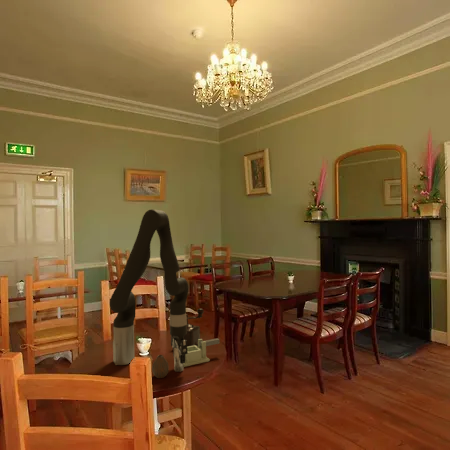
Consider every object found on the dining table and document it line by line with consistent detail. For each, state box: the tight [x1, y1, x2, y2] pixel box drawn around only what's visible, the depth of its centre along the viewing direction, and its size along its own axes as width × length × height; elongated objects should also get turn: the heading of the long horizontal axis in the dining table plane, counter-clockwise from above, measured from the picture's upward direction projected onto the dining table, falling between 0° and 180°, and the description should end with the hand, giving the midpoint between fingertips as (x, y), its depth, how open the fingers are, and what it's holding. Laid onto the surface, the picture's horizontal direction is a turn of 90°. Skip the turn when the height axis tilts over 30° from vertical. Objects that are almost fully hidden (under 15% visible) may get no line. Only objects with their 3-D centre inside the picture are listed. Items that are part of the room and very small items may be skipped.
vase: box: [151, 354, 170, 379], centre depth 153 cm, size 7×7×9 cm
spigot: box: [173, 346, 184, 373], centre depth 159 cm, size 4×4×10 cm
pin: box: [199, 338, 220, 347], centre depth 174 cm, size 10×2×2 cm, turn 118°
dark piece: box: [184, 308, 205, 347], centre depth 192 cm, size 16×11×18 cm
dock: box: [183, 338, 211, 368], centre depth 170 cm, size 13×10×8 cm
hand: (179, 359), depth 159 cm, fingers open, 8 cm apart
